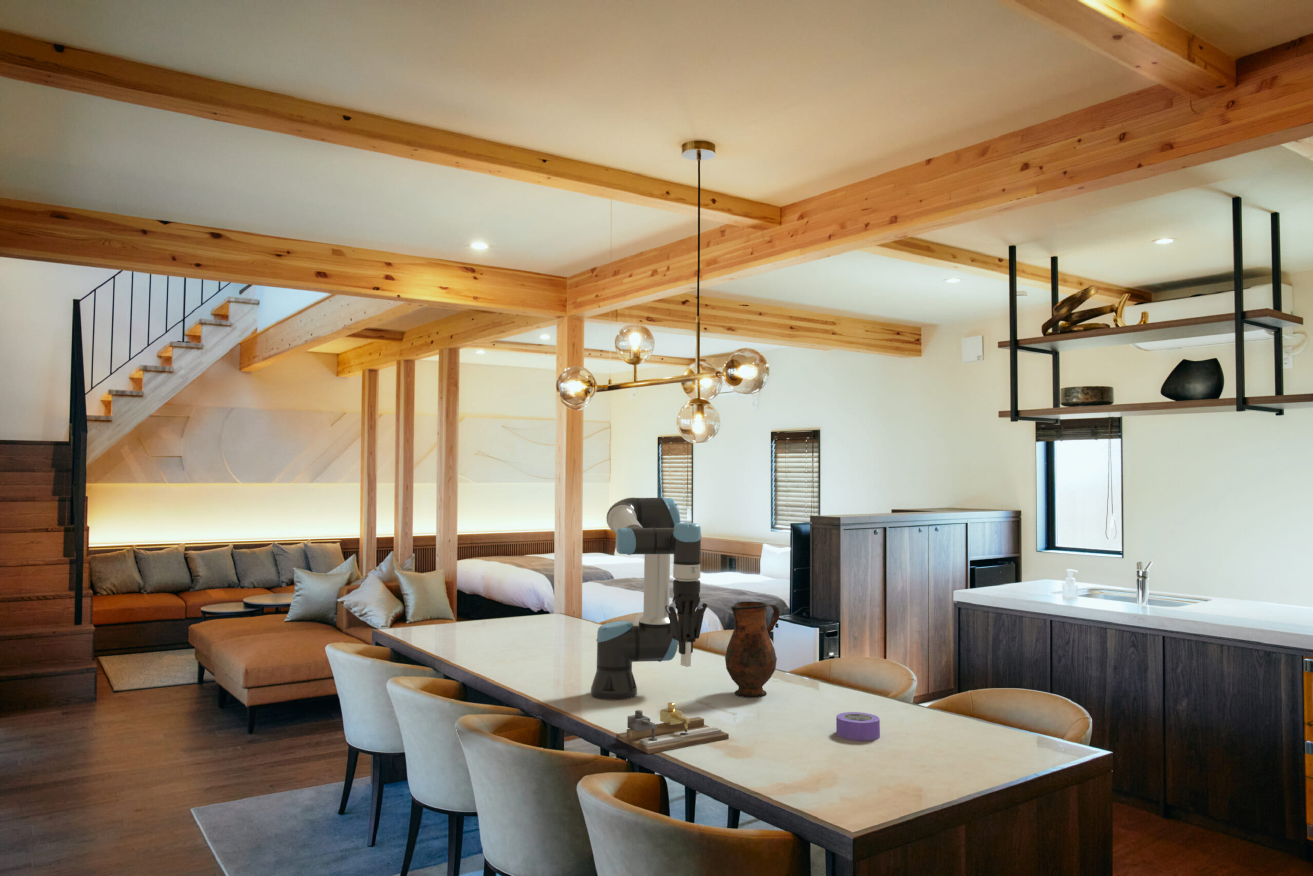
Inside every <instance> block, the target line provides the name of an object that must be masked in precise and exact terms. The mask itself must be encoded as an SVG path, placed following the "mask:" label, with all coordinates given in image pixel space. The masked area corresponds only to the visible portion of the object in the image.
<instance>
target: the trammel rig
mask: <svg viewBox="0 0 1313 876" xmlns="http://www.w3.org/2000/svg"><path fill="white" fill-rule="evenodd" d="M643 714H644V713H643V710H640V709H637V710H635V711H634V714H633V715H627V723H626V724H627V729H626V731H625V732H620V733H616V734H615V736H616V737H615V739H616V740H618V741H621V742H622V743H624V744H627V745H629V746H630V747H631V746H632V747H634V748H635V749H637V750H640V751H641V752H643V753H646V754H647V755H650V754H655V753H661V752H666V751H671V750H675V749H677V750H678V749H681V748H686V747H691V746H697V745H702V744H707V743H713V742H717V741H722V740H723V741H724V740H728V739H729V733H727V732H724V731H723V730H722V729H720V728H718V727H715V726H709V725H706V724H705V719H704V718H703V717H701V716H696V717H691V718H689V719H690V723H688V730H687V732H685V723H684V722H682V723H679V724H674V725H669V724H666V723H664V722H662V723H661V722H660V723H655V722H652V721H651V718H650V717H648V716H646V715H643Z"/></svg>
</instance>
